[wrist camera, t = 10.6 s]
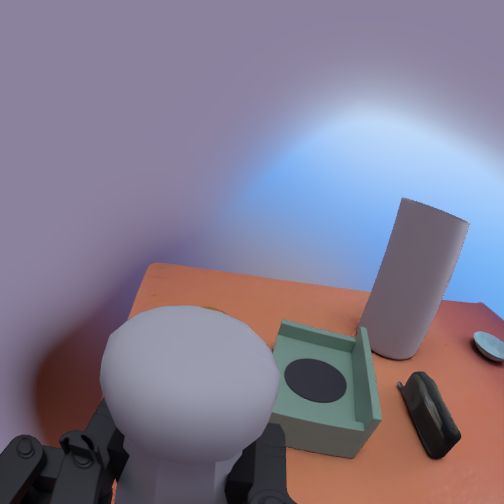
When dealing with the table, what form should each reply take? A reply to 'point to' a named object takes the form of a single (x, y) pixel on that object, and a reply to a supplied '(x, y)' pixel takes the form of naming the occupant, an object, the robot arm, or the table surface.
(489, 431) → the table surface
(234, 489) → the robot arm
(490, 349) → the saucer
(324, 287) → the table surface
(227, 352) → the salt shaker
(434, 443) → the black stapler
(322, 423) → the green tray with hole
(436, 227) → the cylinder vase
